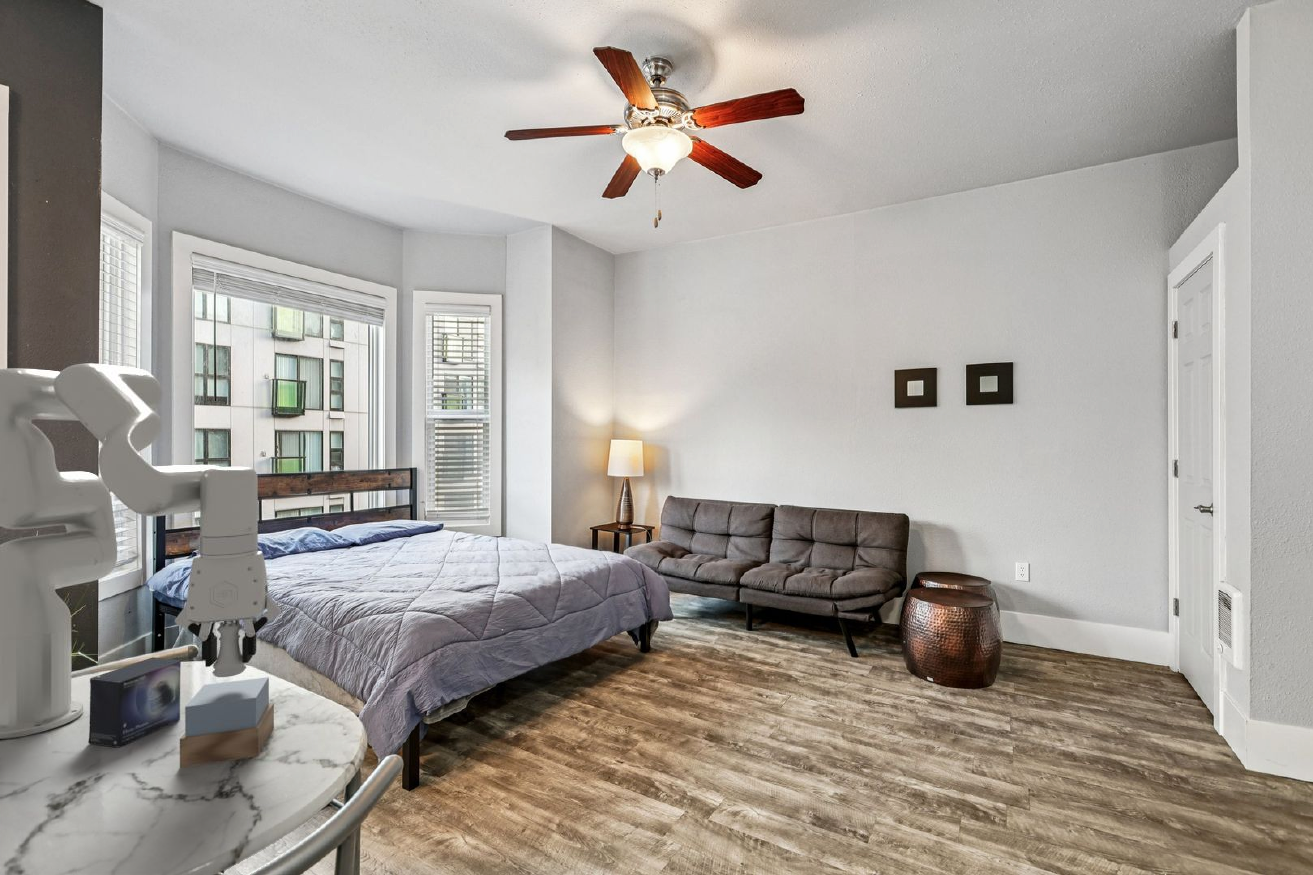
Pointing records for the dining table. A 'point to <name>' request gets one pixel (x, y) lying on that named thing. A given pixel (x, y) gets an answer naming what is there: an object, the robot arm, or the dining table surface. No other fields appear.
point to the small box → (134, 701)
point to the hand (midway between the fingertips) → (229, 660)
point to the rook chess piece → (229, 651)
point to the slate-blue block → (227, 707)
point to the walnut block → (227, 743)
